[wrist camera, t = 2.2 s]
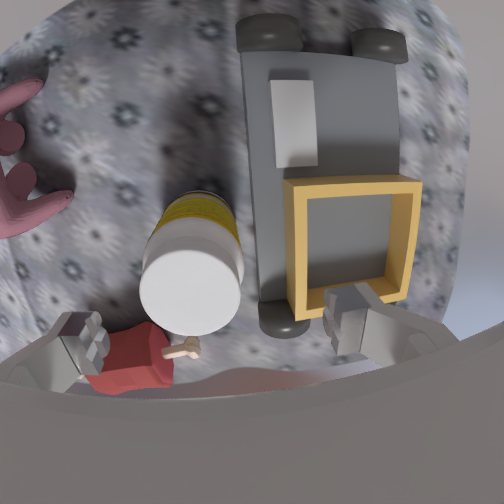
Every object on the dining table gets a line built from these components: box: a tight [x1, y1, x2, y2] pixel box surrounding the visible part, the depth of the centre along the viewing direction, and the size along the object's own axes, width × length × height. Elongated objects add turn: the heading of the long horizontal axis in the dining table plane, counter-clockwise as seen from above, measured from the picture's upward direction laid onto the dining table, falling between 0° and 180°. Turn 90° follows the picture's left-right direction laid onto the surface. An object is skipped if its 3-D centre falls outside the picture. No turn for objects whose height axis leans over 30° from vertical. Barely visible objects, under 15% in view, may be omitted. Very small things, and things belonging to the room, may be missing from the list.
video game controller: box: [0, 78, 74, 239], centre depth 12 cm, size 10×5×7 cm, turn 14°
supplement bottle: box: [139, 191, 244, 336], centre depth 15 cm, size 5×5×8 cm
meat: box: [78, 321, 201, 395], centre depth 19 cm, size 12×5×5 cm, turn 105°
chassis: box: [236, 14, 422, 339], centre depth 16 cm, size 11×19×4 cm, turn 4°
